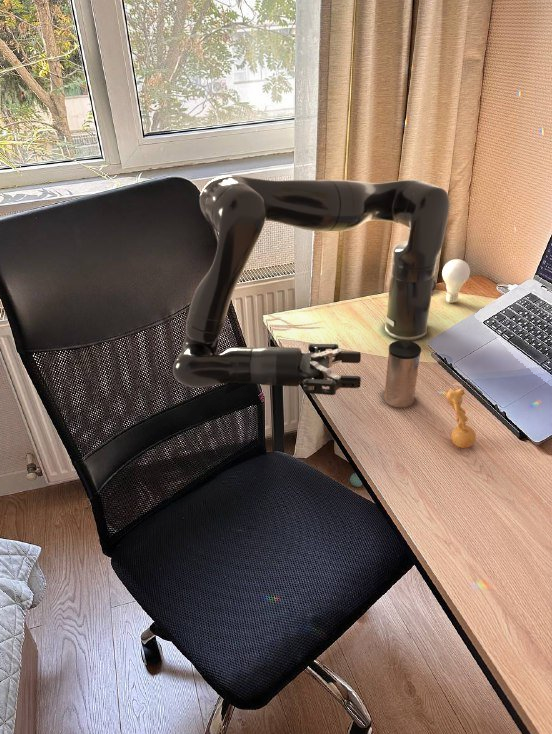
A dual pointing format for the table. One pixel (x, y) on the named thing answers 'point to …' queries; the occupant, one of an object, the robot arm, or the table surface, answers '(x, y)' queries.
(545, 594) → the table surface
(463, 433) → the figurine
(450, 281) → the lightbulb
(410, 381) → the canister
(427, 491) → the table surface
